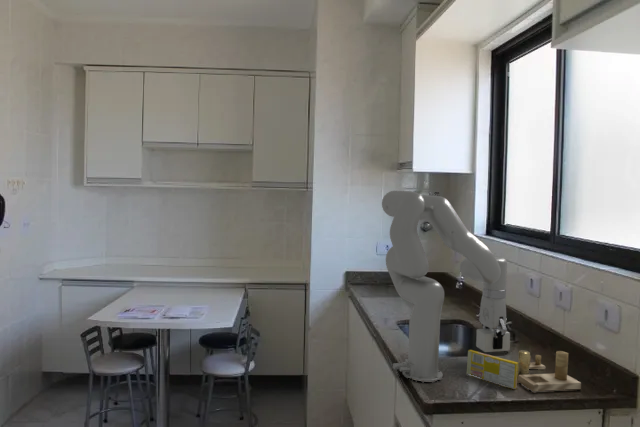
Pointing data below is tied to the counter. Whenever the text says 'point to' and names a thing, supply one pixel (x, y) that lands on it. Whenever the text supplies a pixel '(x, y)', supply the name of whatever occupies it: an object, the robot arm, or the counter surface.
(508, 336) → the cover
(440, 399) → the counter surface
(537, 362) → the wooden knobbed lid
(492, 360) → the candy box
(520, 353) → the peg
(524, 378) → the board
